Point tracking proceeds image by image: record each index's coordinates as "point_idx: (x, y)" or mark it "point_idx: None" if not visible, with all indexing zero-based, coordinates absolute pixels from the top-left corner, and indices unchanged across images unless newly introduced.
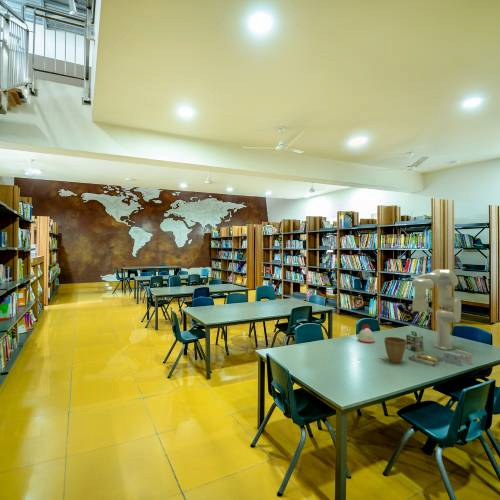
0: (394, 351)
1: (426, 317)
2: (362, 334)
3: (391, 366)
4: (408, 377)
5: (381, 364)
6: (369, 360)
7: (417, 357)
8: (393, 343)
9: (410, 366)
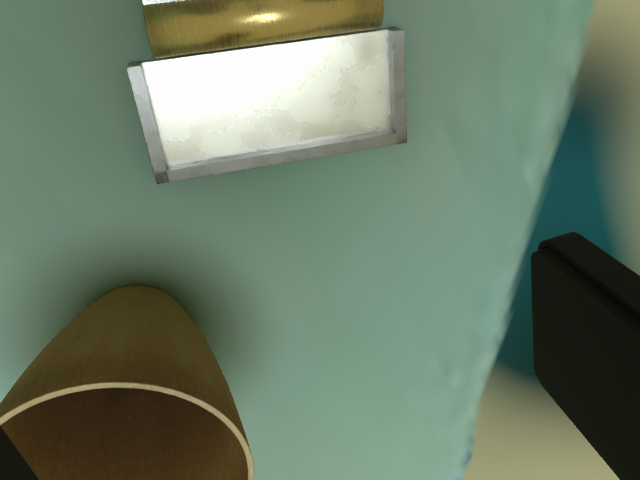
0: (188, 457)
1: (630, 473)
2: None
3: None
4: (391, 445)
5: None
6: None
7: (174, 61)
8: None
9: (287, 304)
